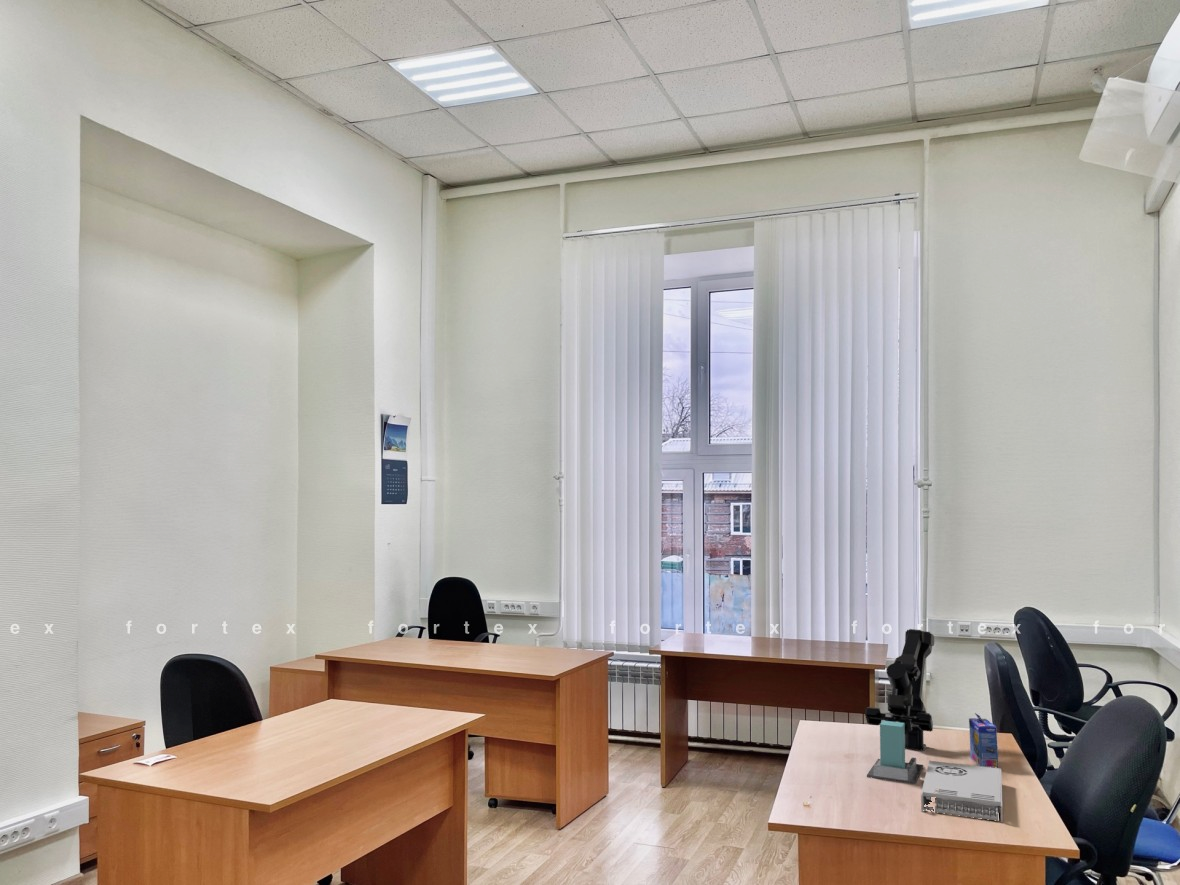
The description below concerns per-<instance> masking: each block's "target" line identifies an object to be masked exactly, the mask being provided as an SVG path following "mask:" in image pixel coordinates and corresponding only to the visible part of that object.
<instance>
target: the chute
mask: <svg viewBox="0 0 1180 885" xmlns="http://www.w3.org/2000/svg"><path fill="white" fill-rule="evenodd" d="M922 770H924V764H918V763H917V758H916V757H911V758H910V760H909V761H908V762H906V761H905V768H899V767H892V766H884V765H880V758H877V760H876V761H875V762H874V764H873V766H872V767H871V768H870V770H869V771H868V773H867V774H866V778H871V777H872V779H878V780H885V779H886V780H885V781H893V782H898V783H899V782H900V783H907V784H913V785H915V784H916V782H917V780H918V779H919V776H920V775H921V773H922Z"/></svg>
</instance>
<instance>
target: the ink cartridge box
mask: <svg viewBox="0 0 1180 885" xmlns="http://www.w3.org/2000/svg"><path fill="white" fill-rule="evenodd" d="M974 715H975V716H976V717H977V718H975V717H974V718H971V717H970V718H969V717H968V725H969V726H968V727H969V747H970V748H969V750H970V759H971V760H972V761H973V762H974V763H975V762H976V763H975V764H977V766H981V767H991V768H994V767H997V768H999V752H998V751H999V748H998V747H999V746H998V735H997V734H998V732H997V730H998V729H997V726H996V725H995V724H994V723H992V722H991V721H989V720H988V719H986V718H982V717H981V716H980V715H979V714H978V713H976V712H975V713H974Z"/></svg>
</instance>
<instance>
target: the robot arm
mask: <svg viewBox="0 0 1180 885" xmlns="http://www.w3.org/2000/svg"><path fill="white" fill-rule="evenodd" d="M934 645H935V635H934V634H933V633H931V631H924V630H921V629H914V628H913V629H911V628H909V629H906V631H905V634H904V644H903V650H902V652H901V655H900V656H897V657H895V659H894V662H893V663H890V665H888V666H887V668H886V670H885V672H886V675H887V678H888V682H889V684H890V687H891V694H890V693H889V694H887V712H881V709H880V707H872V706H867V707H866V708H865V710H864V711H865V712H864V716H865V719H866V723H867V724H868V725H871V726H880V724H881V722H882V721H891V722H900V723H905V749H908V750H916V751H924V750H925V749H926V747H927V744H925V743H924V739H925V738H924V732H930V733H931V732H933V728H934V723H933V722H934V721H933V718H932V714H931V713H928V712H927V711H926V707H925V704H924V703H923V700H922V695H923V688H924V677H925V668H926V659H927V658H928V657H929V656H930V655H931V654H932V651H933V647H934Z"/></svg>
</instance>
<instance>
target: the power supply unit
mask: <svg viewBox="0 0 1180 885" xmlns="http://www.w3.org/2000/svg"><path fill="white" fill-rule="evenodd" d="M1002 777H1003V776H1002V768H999V767H998V768H990V767H981V766H979V765H973V764H972V765H971V764H963V763H954V762H947V761H946V762H944V761H937V760H929V761H928V765H927V769H926V772H925V776H924V781H923V784H922V789H921V792H920V805H921V806H920V808H921V813H924V812H923V810H924V811H926V809H927V810H930V811H931V810H933V811H934V809H933V807H928V806H926V807H924V805H925V804H926V805H928V804H930V803H929V802H932V801H931V797H936V798H935V813H934V814H937V813H936V812H938V813H945V814H952V815H960V816H967V817H974V818H982V819H989V820H996V821H998V813H1000V823H1001V822H1003V823H1004V815H1003V786H1002V785H1003V783H1002V782H1003V779H1002ZM935 789H939V790H935ZM935 792H938V793H935ZM1000 807H1001V808H1000ZM931 812H932V811H931Z"/></svg>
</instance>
